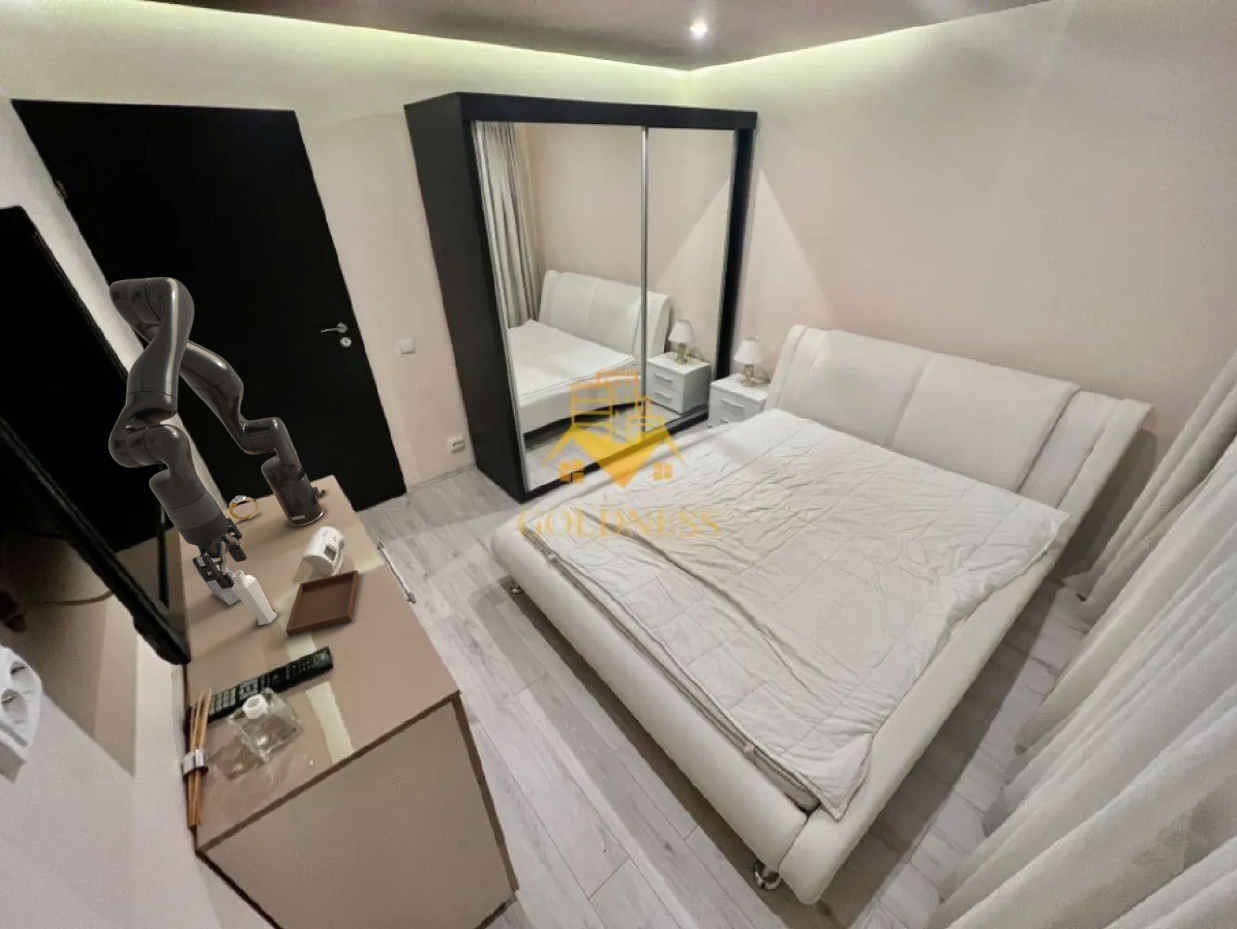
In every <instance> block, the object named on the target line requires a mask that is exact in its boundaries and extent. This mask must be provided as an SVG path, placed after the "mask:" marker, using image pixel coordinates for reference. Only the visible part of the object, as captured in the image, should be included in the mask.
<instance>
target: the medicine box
mask: <svg viewBox="0 0 1237 929" xmlns="http://www.w3.org/2000/svg"><path fill="white" fill-rule="evenodd" d="M216 561H218V559H213V562H216ZM216 567H217V568H218V570H220V569H219V565H216ZM225 568H226V572H227V573H228V575H229V576H230V577H231V579H232V580H233V582H234V581H235V579H234V578H233V577H232V575H233V573H234V572H233V571H232V569H230V568H228V567H227V566H226V565H225ZM196 571H197V574H198V575H199V576H200V577H201V579H202V580H203V581H204V582H205V580H204V579H203V577H202V576H201V574H200V573H199V571H198V569H196ZM207 573H208V574H209V572H207ZM205 584H206V586H207V587H208V589H210V591H211V592H212V593H213V594H214V595H215V596H216V597H218V598H219V599H220V600H222V601H223V602H224V603H226V604H227V605H228V606H231V605H233V604H235V603H236V602H238V601H239V600H240V598H239V597H238V596H237V595H236V594H235V593H234V592H233V590H232V587H231V588H227V589H222V588H221V587H220V586H219V584H218V583H217V582H216V580H213V581H209V582H205Z"/></svg>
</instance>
